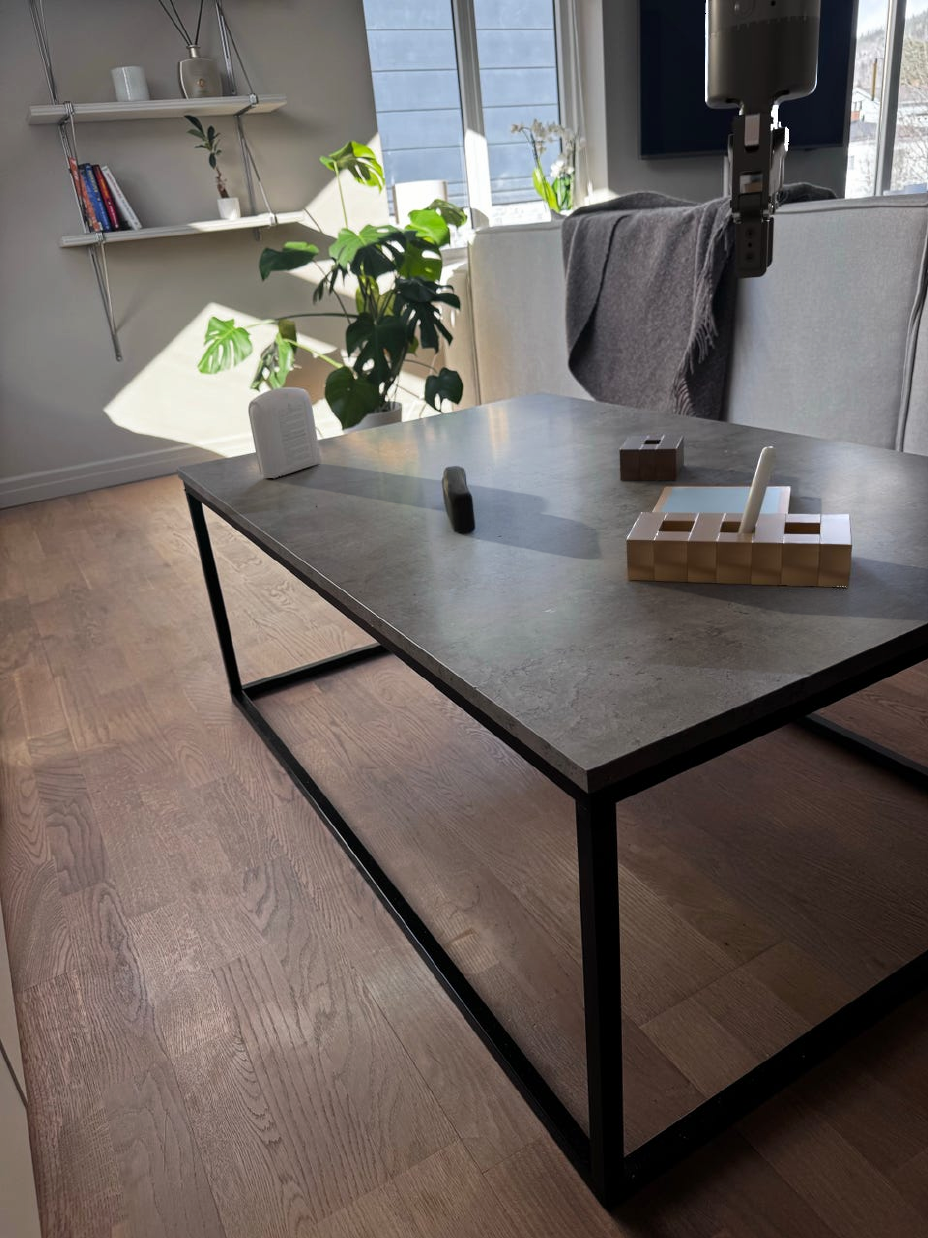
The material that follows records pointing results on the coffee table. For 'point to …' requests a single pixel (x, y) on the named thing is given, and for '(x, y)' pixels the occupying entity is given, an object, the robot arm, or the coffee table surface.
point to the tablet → (720, 500)
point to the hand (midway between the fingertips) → (754, 272)
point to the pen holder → (741, 549)
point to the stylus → (758, 490)
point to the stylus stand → (652, 457)
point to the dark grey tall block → (458, 499)
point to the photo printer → (284, 431)
